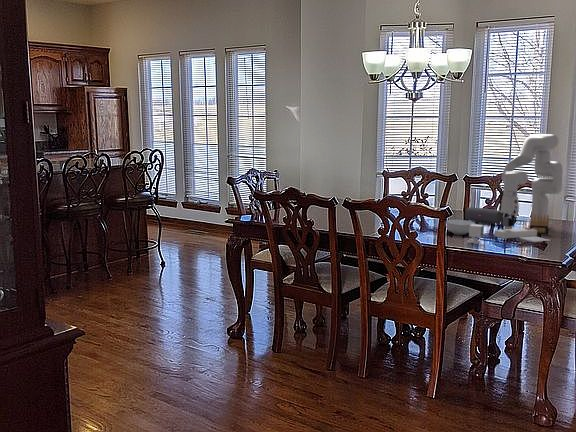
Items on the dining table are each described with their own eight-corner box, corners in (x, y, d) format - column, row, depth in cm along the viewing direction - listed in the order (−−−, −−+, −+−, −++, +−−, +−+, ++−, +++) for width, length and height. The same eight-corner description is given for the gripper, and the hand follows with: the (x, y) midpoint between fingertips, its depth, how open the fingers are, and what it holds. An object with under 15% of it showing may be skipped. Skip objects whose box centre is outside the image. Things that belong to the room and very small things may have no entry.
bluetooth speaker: (464, 221, 399) (464, 207, 398) (471, 220, 406) (472, 205, 404) (495, 226, 383) (496, 210, 381) (502, 224, 389) (503, 209, 388)
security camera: (479, 244, 324) (480, 226, 322) (467, 243, 328) (467, 225, 326) (482, 242, 329) (483, 224, 328) (470, 241, 333) (471, 223, 331)
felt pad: (535, 237, 346) (535, 236, 346) (550, 241, 335) (551, 240, 335) (518, 238, 342) (518, 237, 341) (534, 242, 330) (534, 241, 330)
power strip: (526, 233, 357) (527, 226, 357) (536, 235, 350) (537, 229, 349) (494, 236, 349) (494, 229, 348) (503, 238, 341) (504, 231, 341)
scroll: (504, 222, 400) (506, 192, 397) (489, 218, 413) (490, 190, 410) (521, 220, 405) (523, 191, 402) (505, 217, 419) (507, 189, 416)
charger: (509, 227, 350) (509, 216, 348) (514, 229, 346) (514, 217, 345) (502, 228, 348) (503, 217, 347) (507, 229, 344) (507, 218, 343)
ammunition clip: (548, 234, 356) (549, 214, 354) (548, 234, 354) (549, 214, 352) (528, 233, 359) (530, 213, 358) (528, 233, 358) (530, 213, 356)
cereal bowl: (454, 236, 347) (455, 224, 346) (439, 231, 363) (440, 220, 361) (480, 235, 351) (480, 223, 350) (464, 230, 367) (465, 219, 366)
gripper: (525, 195, 337) (523, 227, 340) (505, 191, 353) (503, 222, 355) (515, 195, 334) (513, 228, 337) (495, 192, 350) (493, 223, 353)
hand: (508, 224), depth 346 cm, fingers closed on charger, 4 cm apart
